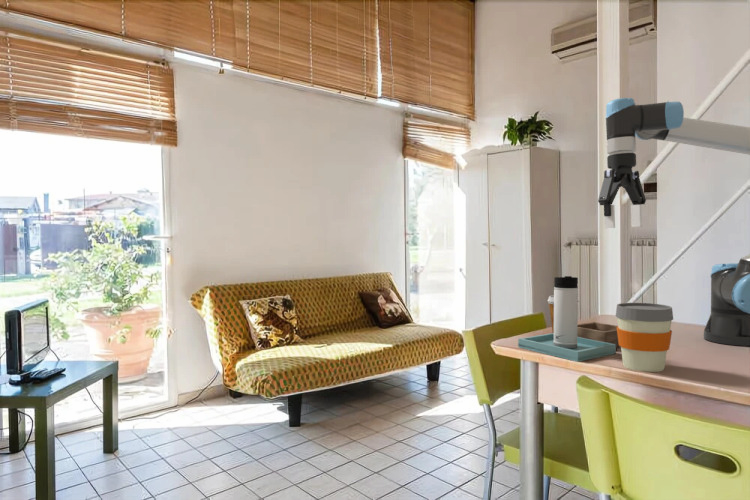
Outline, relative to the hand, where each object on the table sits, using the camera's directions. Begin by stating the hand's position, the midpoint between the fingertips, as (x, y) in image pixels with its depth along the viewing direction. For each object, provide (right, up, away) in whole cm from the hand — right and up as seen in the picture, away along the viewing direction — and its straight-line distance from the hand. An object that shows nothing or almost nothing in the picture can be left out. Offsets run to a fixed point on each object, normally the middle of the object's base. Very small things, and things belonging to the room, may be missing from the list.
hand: (623, 227), depth 150 cm
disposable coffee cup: (-11, -34, +19) cm, 40 cm away
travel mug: (-19, -34, -5) cm, 39 cm away
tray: (-19, -35, -5) cm, 40 cm away
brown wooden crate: (-6, -34, +3) cm, 35 cm away
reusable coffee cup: (-6, -35, -23) cm, 43 cm away
